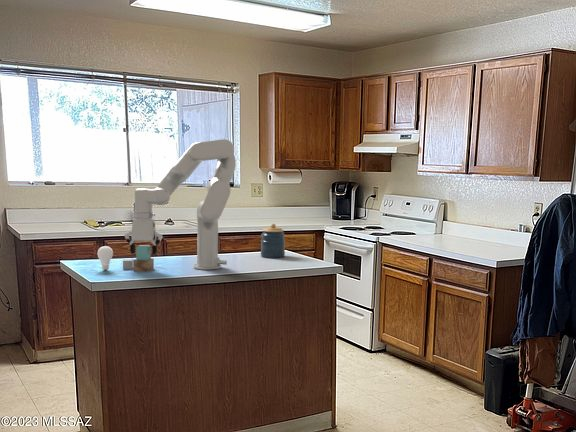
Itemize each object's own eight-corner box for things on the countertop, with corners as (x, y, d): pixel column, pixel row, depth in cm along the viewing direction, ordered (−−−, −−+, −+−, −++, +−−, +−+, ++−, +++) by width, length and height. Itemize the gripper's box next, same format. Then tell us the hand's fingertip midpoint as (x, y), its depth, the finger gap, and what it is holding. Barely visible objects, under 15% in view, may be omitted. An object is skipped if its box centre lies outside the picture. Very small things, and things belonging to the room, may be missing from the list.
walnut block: (153, 269, 241) (153, 258, 241) (148, 271, 234) (148, 260, 234) (138, 268, 242) (138, 257, 241) (133, 271, 235) (133, 260, 234)
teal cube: (150, 258, 240) (150, 245, 239) (147, 260, 235) (147, 247, 234) (140, 258, 240) (140, 245, 240) (136, 259, 235) (136, 246, 235)
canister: (269, 259, 273) (270, 225, 272) (255, 255, 283) (256, 223, 282) (289, 257, 281) (290, 224, 279) (275, 253, 291) (276, 222, 290)
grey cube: (132, 267, 243) (132, 259, 242) (132, 269, 239) (132, 260, 239) (123, 267, 242) (123, 259, 242) (123, 269, 238) (122, 260, 238)
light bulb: (94, 270, 234) (94, 245, 233) (109, 268, 239) (108, 244, 238) (101, 272, 230) (101, 247, 229) (116, 270, 234) (115, 246, 233)
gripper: (164, 215, 239) (164, 253, 240) (127, 214, 240) (127, 251, 242) (159, 217, 232) (159, 255, 233) (121, 216, 233) (121, 254, 234)
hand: (143, 253), depth 237 cm, fingers open, 9 cm apart
